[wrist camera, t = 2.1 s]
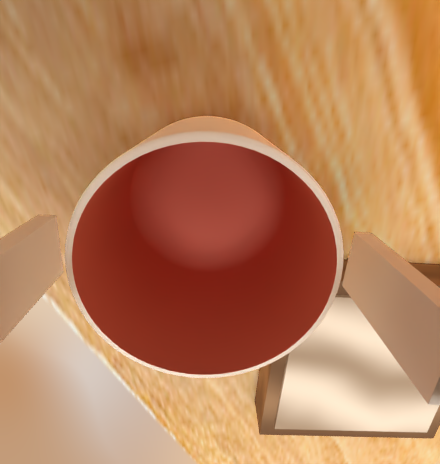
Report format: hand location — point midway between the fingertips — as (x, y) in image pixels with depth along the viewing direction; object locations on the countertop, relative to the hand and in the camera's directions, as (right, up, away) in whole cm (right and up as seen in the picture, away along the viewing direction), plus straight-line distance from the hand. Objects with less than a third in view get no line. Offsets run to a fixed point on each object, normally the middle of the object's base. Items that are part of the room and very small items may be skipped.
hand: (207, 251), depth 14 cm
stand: (+11, -8, +11) cm, 17 cm away
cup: (0, +3, +7) cm, 7 cm away
